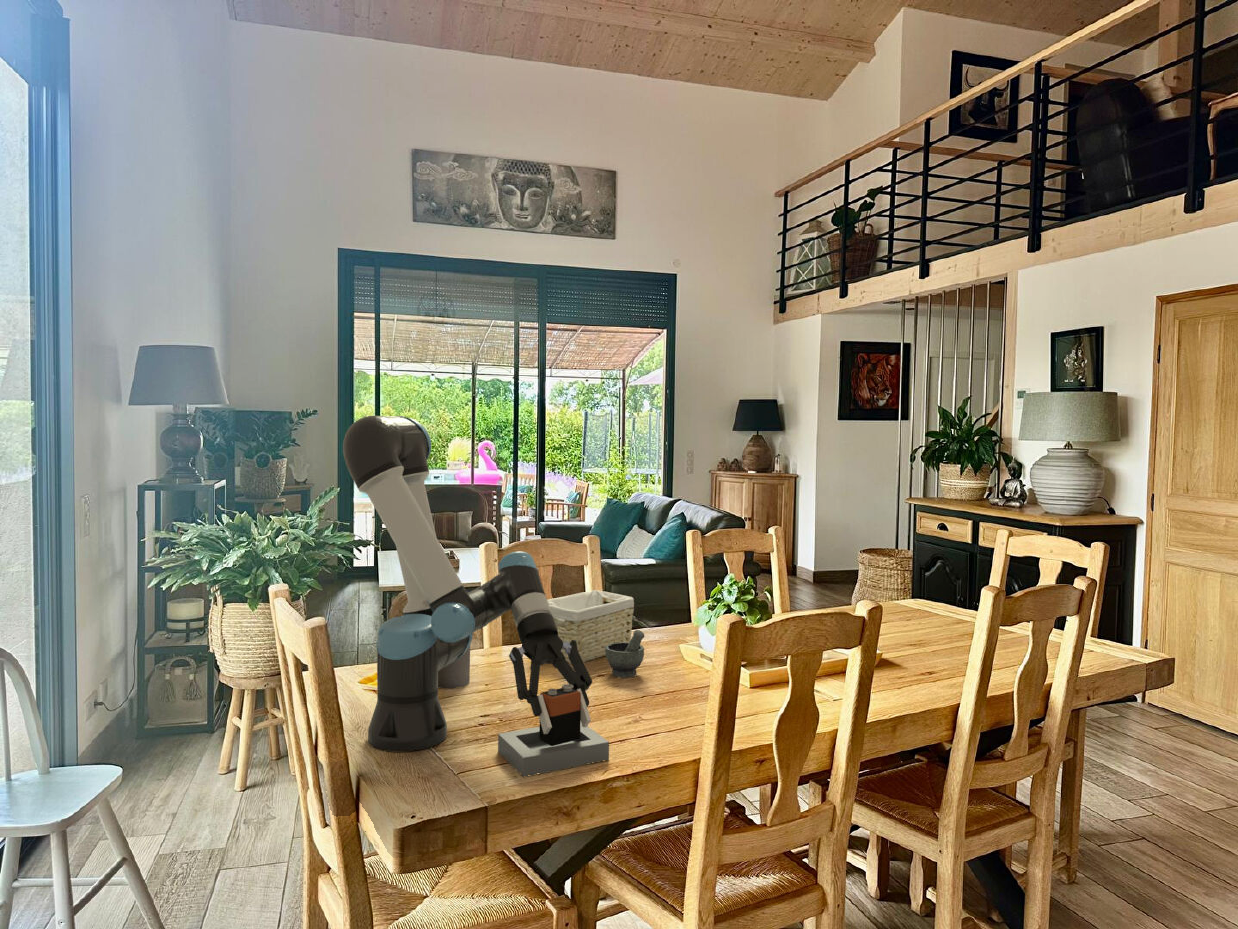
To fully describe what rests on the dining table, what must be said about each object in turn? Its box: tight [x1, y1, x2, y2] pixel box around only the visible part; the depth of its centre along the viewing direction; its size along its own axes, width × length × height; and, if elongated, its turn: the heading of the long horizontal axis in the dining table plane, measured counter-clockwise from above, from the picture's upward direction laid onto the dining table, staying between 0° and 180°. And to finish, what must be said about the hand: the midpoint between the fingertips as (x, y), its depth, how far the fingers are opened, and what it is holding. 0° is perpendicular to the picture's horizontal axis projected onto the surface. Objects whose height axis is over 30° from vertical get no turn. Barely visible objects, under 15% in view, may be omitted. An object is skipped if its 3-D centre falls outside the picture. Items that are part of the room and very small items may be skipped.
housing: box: [497, 722, 610, 777], centre depth 160 cm, size 17×13×4 cm
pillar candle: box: [438, 645, 471, 690], centre depth 204 cm, size 10×10×15 cm
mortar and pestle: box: [605, 629, 645, 679], centre depth 212 cm, size 11×9×12 cm
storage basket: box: [547, 589, 635, 663], centre depth 232 cm, size 24×16×15 cm
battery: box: [539, 683, 581, 746], centre depth 160 cm, size 4×7×10 cm, turn 128°
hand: (567, 727), depth 157 cm, fingers closed on battery, 7 cm apart
